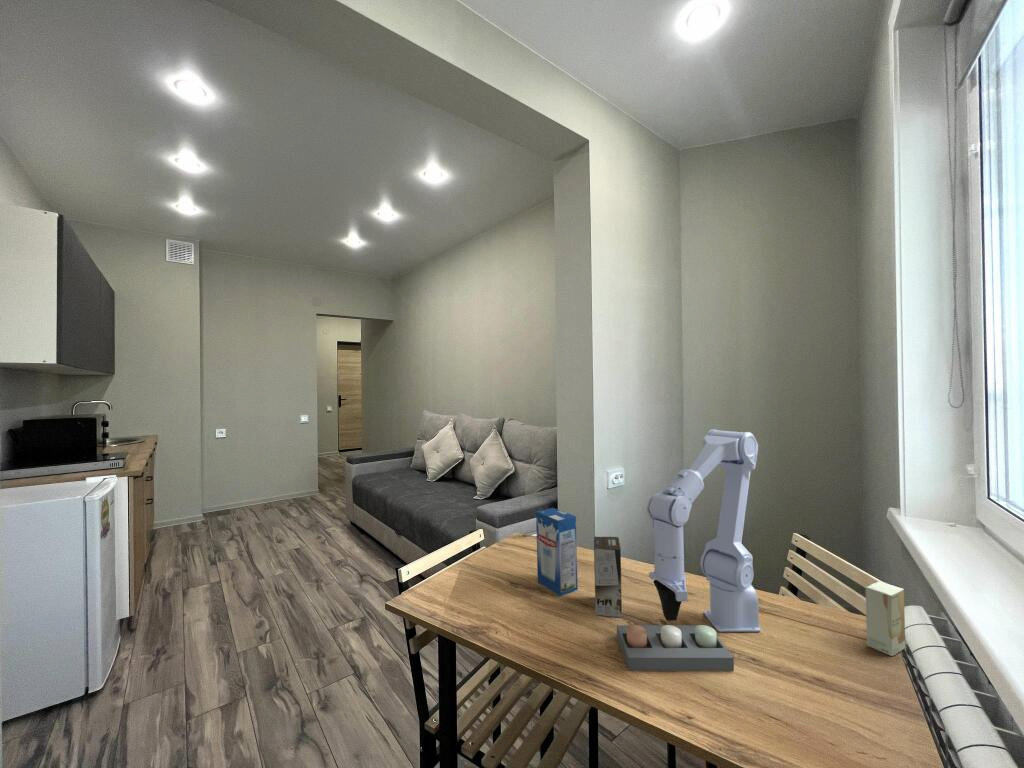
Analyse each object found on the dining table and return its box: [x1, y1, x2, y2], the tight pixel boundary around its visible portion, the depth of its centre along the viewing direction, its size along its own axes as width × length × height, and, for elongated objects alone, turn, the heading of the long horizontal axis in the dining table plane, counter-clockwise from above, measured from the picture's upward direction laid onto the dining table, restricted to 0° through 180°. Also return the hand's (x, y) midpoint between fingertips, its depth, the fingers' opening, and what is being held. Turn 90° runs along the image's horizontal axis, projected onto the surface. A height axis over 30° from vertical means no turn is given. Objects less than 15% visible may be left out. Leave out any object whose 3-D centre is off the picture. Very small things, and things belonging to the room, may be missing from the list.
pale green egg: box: [695, 624, 717, 648], centre depth 86 cm, size 4×4×3 cm
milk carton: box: [535, 507, 578, 597], centre depth 116 cm, size 10×6×20 cm, turn 33°
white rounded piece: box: [661, 624, 682, 648], centre depth 86 cm, size 4×4×3 cm
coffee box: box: [593, 536, 623, 618], centre depth 105 cm, size 9×6×16 cm
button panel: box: [616, 624, 735, 672], centre depth 86 cm, size 20×11×2 cm, turn 88°
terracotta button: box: [627, 624, 647, 648], centre depth 87 cm, size 4×4×3 cm
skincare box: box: [865, 580, 906, 657], centre depth 87 cm, size 6×4×12 cm
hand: (670, 618), depth 86 cm, fingers closed
